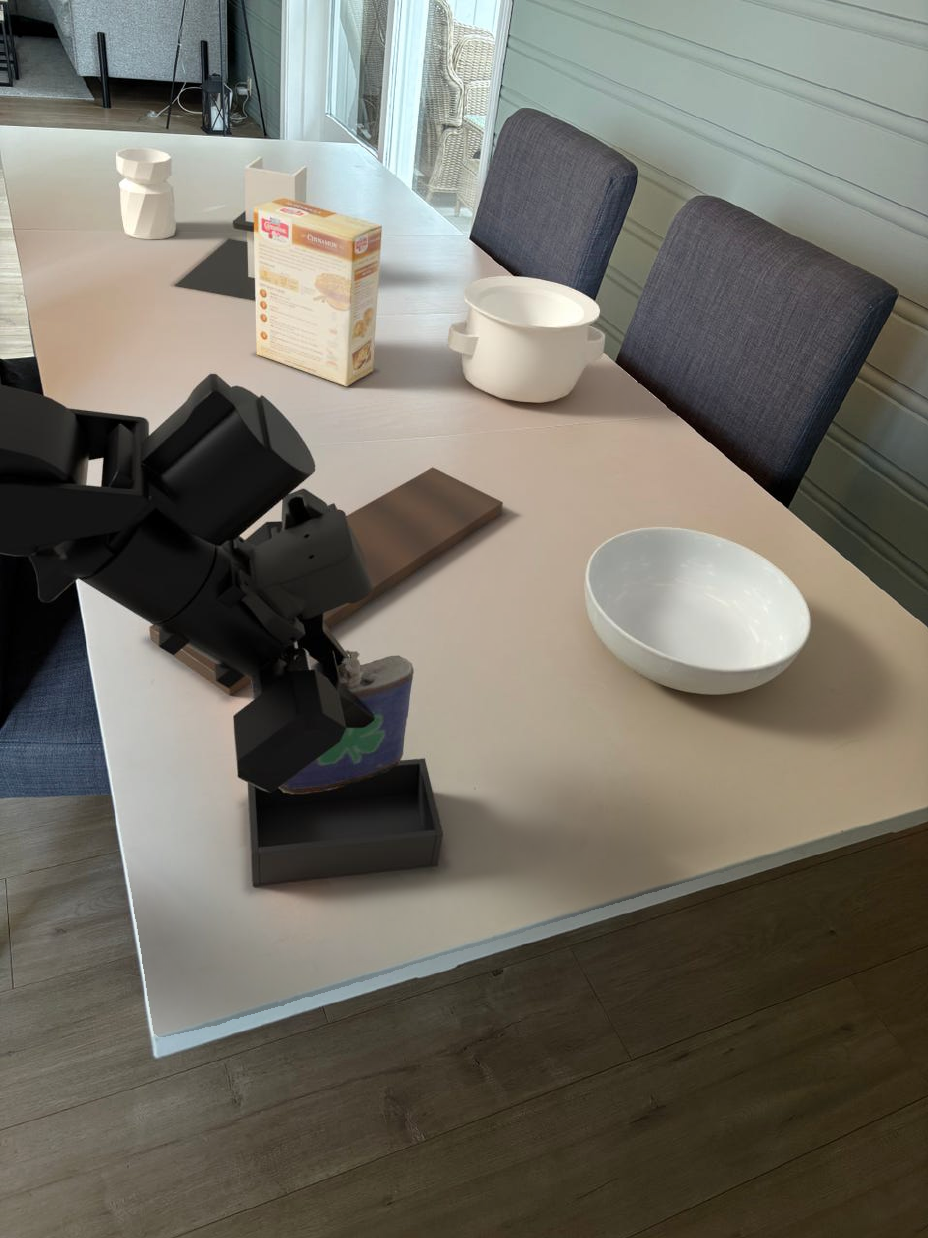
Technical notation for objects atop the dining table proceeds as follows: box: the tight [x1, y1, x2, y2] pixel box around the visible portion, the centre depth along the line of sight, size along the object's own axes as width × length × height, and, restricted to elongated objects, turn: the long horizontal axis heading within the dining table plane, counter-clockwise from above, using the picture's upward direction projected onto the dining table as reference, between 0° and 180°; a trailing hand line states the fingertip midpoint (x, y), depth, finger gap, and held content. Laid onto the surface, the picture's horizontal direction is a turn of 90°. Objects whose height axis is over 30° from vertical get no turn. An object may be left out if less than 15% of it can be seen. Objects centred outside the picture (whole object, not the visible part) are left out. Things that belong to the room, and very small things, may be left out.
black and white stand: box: [174, 156, 308, 301], centre depth 144 cm, size 25×24×16 cm
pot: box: [446, 275, 607, 404], centre depth 124 cm, size 22×17×12 cm
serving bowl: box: [584, 526, 812, 695], centre depth 86 cm, size 21×21×7 cm
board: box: [148, 466, 504, 696], centre depth 91 cm, size 40×10×2 cm, turn 143°
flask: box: [278, 649, 415, 794], centre depth 60 cm, size 9×3×11 cm, turn 114°
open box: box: [247, 757, 444, 887], centre depth 65 cm, size 13×7×4 cm, turn 102°
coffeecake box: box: [254, 198, 383, 387], centre depth 120 cm, size 15×7×20 cm, turn 63°
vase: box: [115, 147, 177, 240], centre depth 153 cm, size 9×9×12 cm
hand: (365, 703), depth 60 cm, fingers closed on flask, 3 cm apart
